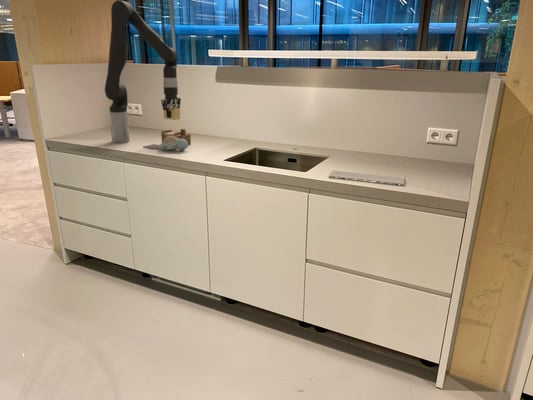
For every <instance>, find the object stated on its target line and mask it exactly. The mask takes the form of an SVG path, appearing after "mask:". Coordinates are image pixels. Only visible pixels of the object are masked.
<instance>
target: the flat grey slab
mask: <svg viewBox="0 0 533 400" xmlns="http://www.w3.org/2000/svg"><path fill="white" fill-rule="evenodd" d="M329 177H337V178H347V179H357V180H366V181H376V182H383V183H391V184H400V185H404V186H405V182H406V181H405V180H406V177H400V176H392V175H391V176H389V175H381V174H373V173H371V174H370V173H360V172H351V171H343V170H342V171H341V170H332V171H331V172H330V173H329V175H328V178H329ZM391 184H390V185H391ZM400 185H399V186H400Z"/></svg>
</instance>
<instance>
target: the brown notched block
mask: <svg viewBox="0 0 533 400" xmlns="http://www.w3.org/2000/svg"><path fill="white" fill-rule="evenodd" d="M168 136H175V137H176V138H178V139H185V140H186V141H187V142H188V146H190V145H191V144H192V141H191V139H192V138H191V133H187V132H186V128H180V131H179V132H178V131H173V130H172V129H167V130H163V131H161V145H162V144H163V142H164V139H165V138H166V137H168Z"/></svg>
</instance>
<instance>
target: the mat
mask: <svg viewBox="0 0 533 400" xmlns="http://www.w3.org/2000/svg"><path fill="white" fill-rule="evenodd" d="M160 145H161V144H155V143H154V144H149V145H144V146H143V148H144V149H152V150H160V149H159V146H160Z"/></svg>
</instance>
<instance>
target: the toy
mask: <svg viewBox="0 0 533 400" xmlns="http://www.w3.org/2000/svg"><path fill="white" fill-rule="evenodd" d="M159 145H160V146H159V149H158V150H159V151H163V150H166V149H167V150H176V149H177V150H178V151H180V152H183V151H184V150H186V149H188V147H189V145H188V142H187V141H186V140H185V139H178V138H176V137H175V136H168V137H166V138H165V139H164V142H163V144H162V143H161V144H159Z"/></svg>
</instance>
